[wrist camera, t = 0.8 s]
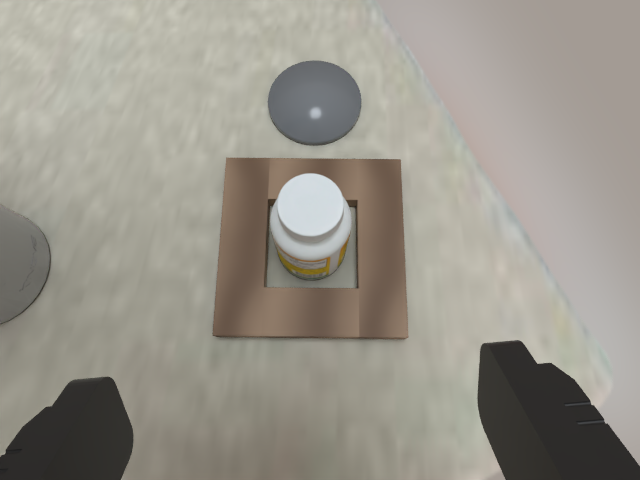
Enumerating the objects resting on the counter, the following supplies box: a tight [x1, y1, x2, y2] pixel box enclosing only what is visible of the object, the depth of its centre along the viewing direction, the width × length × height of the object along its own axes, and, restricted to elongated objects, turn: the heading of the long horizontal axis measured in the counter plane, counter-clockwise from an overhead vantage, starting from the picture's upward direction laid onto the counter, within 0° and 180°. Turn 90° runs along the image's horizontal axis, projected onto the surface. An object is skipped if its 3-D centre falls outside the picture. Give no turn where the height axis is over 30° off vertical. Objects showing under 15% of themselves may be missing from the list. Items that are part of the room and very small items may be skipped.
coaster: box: [268, 61, 361, 145], centre depth 39 cm, size 8×8×1 cm
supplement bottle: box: [270, 173, 352, 280], centre depth 31 cm, size 5×5×10 cm
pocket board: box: [213, 158, 408, 339], centre depth 35 cm, size 14×14×2 cm
